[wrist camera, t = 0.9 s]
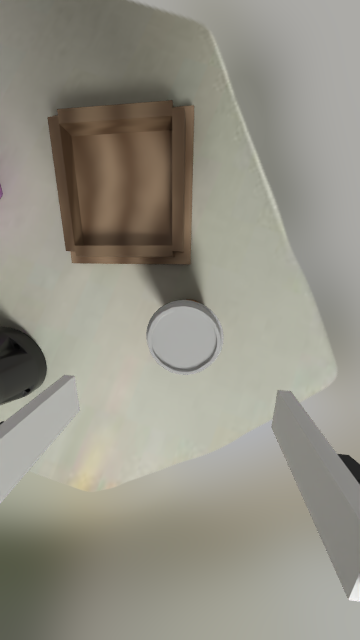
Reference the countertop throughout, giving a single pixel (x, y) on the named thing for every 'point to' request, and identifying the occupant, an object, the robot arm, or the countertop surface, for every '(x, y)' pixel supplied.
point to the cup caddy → (125, 182)
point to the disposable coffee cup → (184, 337)
